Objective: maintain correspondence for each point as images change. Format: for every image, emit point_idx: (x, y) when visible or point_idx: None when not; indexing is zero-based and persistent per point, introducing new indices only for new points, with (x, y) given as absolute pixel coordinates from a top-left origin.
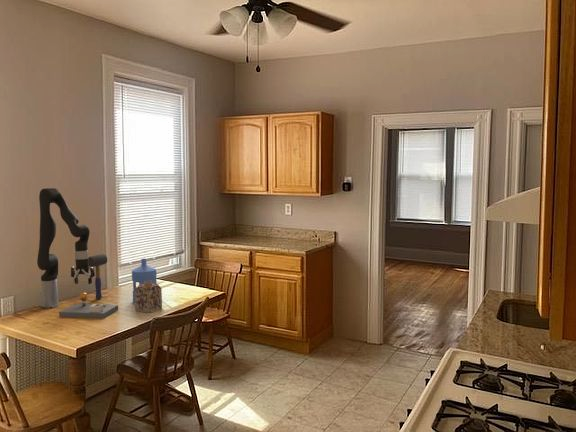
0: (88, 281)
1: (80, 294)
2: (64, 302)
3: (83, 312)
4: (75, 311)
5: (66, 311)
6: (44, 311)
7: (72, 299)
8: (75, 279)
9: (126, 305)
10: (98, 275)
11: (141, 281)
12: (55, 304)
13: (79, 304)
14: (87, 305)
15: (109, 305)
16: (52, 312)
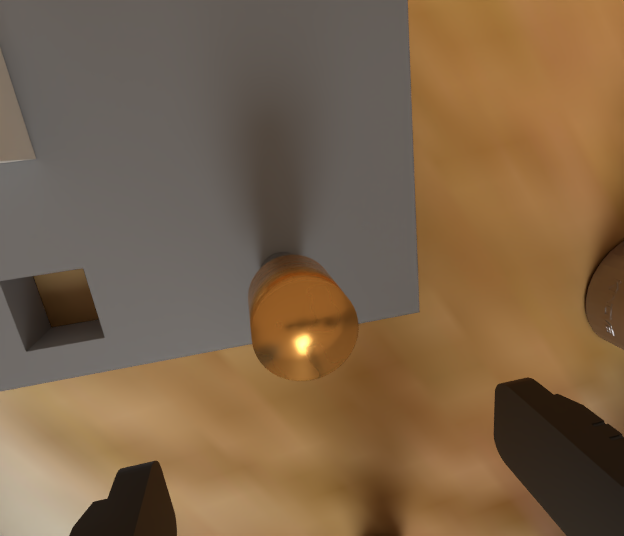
0: (125, 528)
1: (322, 280)
2: (582, 403)
3: (73, 4)
4: (217, 30)
5: (328, 6)
6: (616, 141)
7: None
8: (620, 462)
9: (5, 507)
10: None
11: None
12: (607, 288)
13: (366, 302)
14: None
15: (7, 366)
16: (534, 129)
